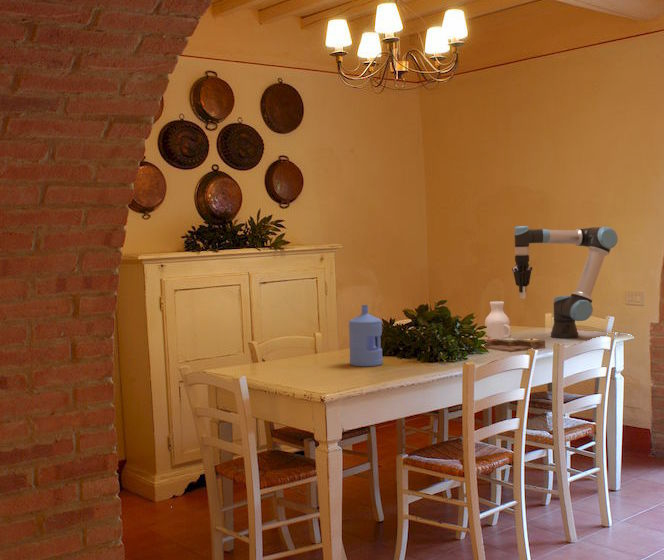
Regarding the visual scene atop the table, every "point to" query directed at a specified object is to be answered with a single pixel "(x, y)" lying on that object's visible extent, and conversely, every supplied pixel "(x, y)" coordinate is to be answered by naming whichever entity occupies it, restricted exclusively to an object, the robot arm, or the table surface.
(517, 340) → the tile one
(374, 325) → the water jug
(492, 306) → the vase
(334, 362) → the table surface
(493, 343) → the board
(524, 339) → the tile three
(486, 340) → the tile two
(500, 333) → the mug
